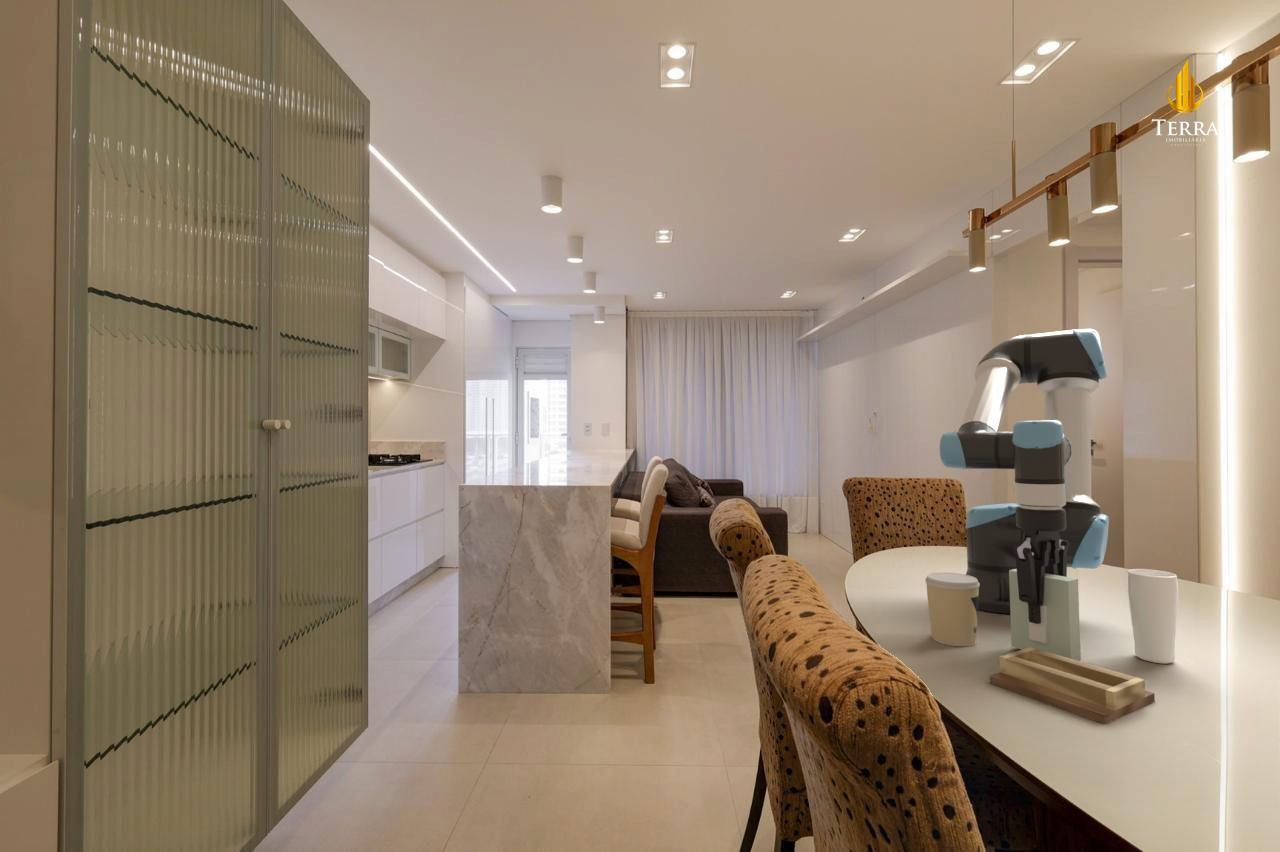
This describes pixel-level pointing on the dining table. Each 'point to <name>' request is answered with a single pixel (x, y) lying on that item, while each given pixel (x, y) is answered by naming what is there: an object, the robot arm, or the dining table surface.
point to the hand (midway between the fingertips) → (1044, 638)
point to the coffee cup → (953, 608)
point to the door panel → (1049, 616)
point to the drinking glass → (1153, 613)
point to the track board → (1066, 699)
